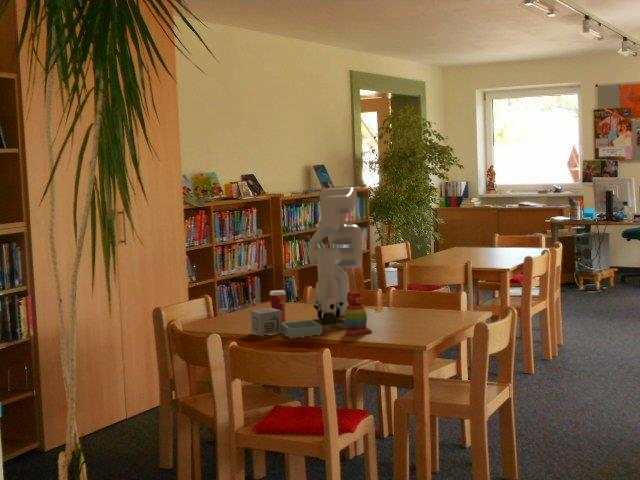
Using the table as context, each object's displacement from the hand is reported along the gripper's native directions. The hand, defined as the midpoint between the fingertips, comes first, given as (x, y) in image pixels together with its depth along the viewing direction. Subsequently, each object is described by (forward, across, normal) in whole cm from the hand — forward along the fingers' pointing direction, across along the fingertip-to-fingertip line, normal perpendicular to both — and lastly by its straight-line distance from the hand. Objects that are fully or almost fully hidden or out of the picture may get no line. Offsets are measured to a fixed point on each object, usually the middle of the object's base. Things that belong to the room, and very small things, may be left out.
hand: (329, 318), depth 386 cm
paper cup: (+4, +16, -28) cm, 32 cm away
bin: (+4, +15, +8) cm, 18 cm away
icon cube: (+4, +28, -1) cm, 28 cm away
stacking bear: (+4, -6, +20) cm, 21 cm away
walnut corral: (+4, 0, 0) cm, 4 cm away
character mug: (+4, 0, 0) cm, 4 cm away
